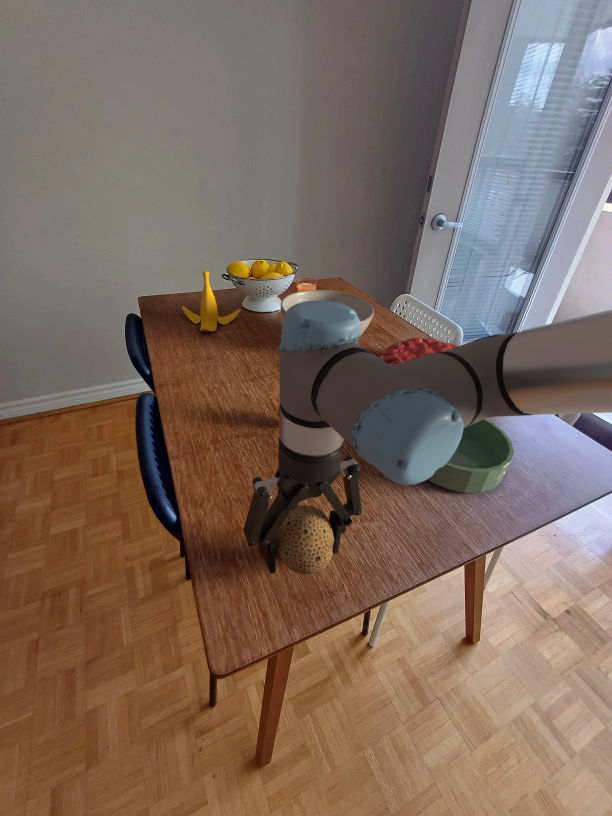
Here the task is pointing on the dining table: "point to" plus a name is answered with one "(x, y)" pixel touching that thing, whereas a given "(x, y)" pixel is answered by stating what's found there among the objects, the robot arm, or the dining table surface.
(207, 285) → the banana peel
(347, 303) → the decorative bowl
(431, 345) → the cake
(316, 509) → the natural sponge
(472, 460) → the green bowl
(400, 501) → the dining table surface
